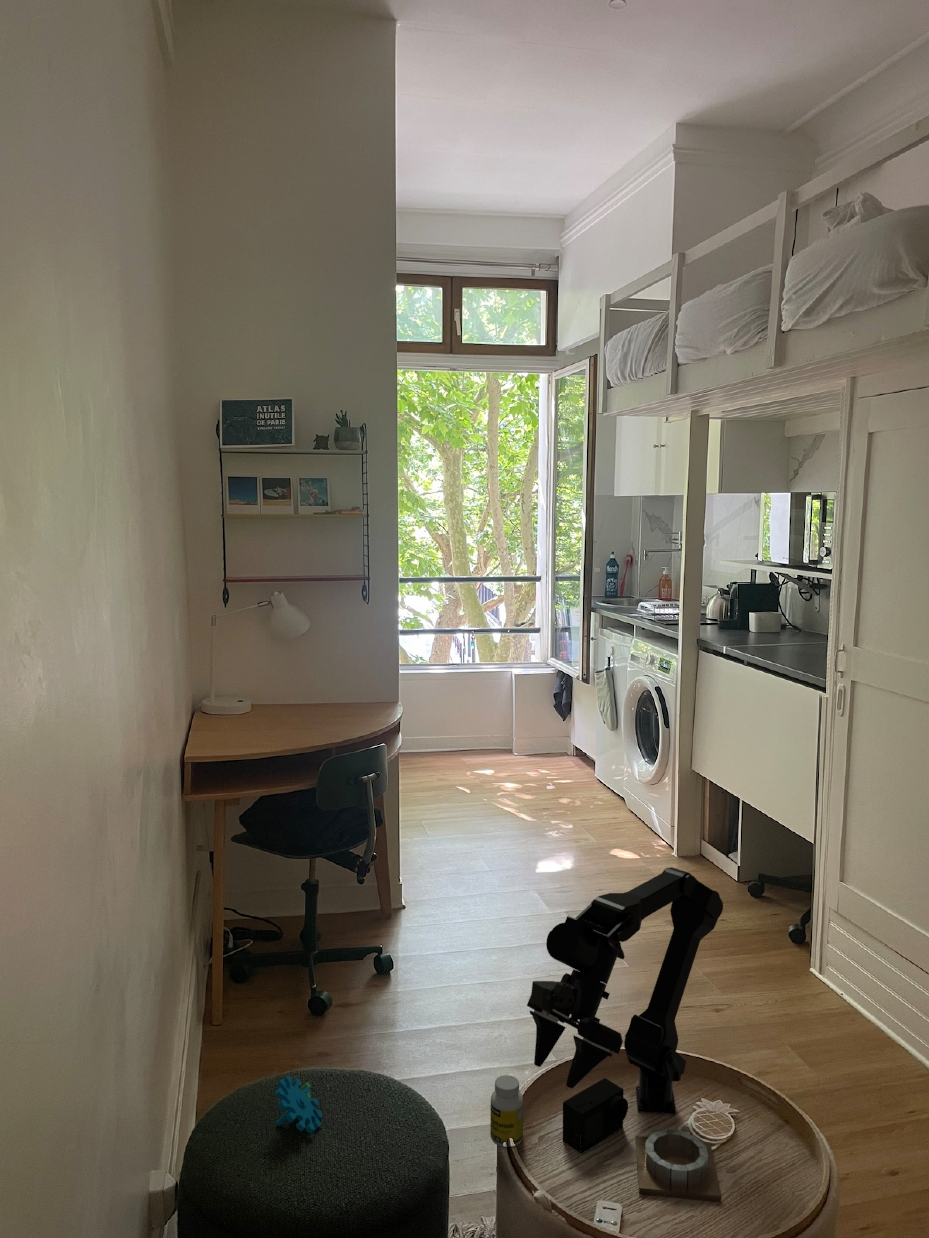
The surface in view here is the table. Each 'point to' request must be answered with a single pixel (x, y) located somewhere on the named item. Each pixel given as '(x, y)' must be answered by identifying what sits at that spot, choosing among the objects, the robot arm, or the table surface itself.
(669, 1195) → the collar holder
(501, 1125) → the supplement bottle
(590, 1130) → the digital camera
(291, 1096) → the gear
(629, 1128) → the table surface
